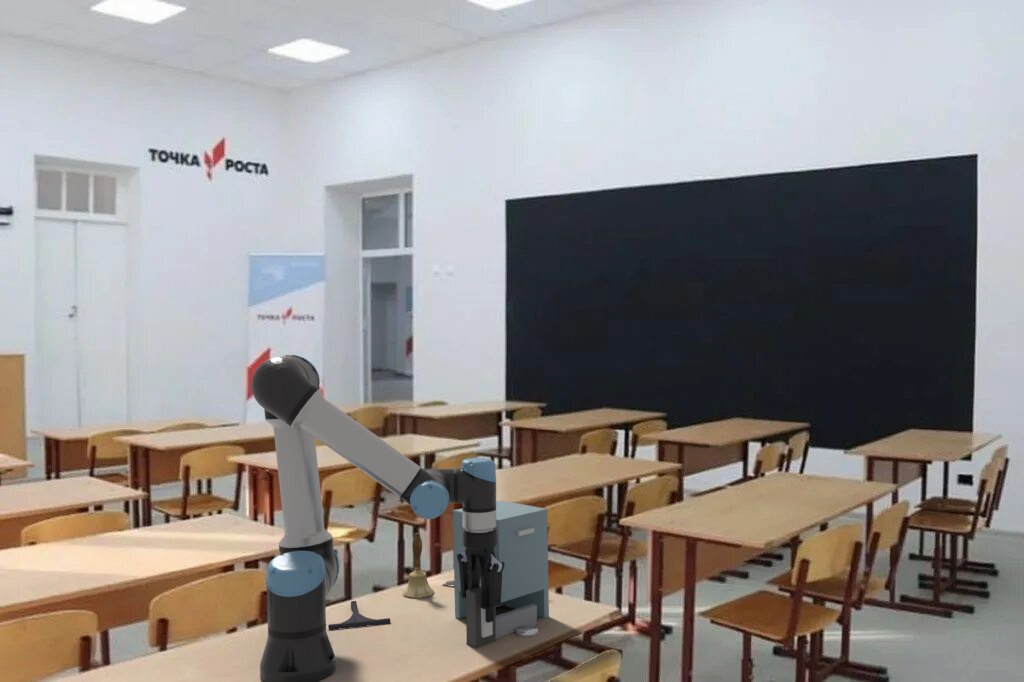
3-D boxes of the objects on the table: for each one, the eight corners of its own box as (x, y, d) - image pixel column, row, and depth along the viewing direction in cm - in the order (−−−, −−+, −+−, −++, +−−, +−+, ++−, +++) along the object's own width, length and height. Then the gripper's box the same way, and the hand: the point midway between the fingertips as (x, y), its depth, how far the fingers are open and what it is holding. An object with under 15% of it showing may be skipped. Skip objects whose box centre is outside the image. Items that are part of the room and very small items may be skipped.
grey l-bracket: (475, 647, 197) (475, 593, 197) (466, 644, 199) (466, 590, 199) (539, 625, 211) (538, 574, 211) (530, 622, 213) (529, 571, 213)
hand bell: (398, 591, 240) (397, 532, 239) (428, 587, 243) (427, 528, 243) (407, 600, 232) (406, 538, 232) (438, 595, 235) (437, 535, 235)
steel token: (527, 639, 202) (527, 634, 202) (511, 634, 206) (511, 629, 206) (542, 633, 206) (542, 628, 206) (526, 628, 209) (526, 623, 209)
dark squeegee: (382, 607, 229) (381, 596, 229) (390, 626, 214) (390, 614, 214) (324, 614, 225) (323, 603, 225) (329, 633, 210) (328, 621, 210)
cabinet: (503, 634, 205) (501, 520, 205) (455, 617, 218) (453, 510, 217) (552, 617, 216) (550, 509, 216) (503, 602, 229) (501, 500, 228)
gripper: (517, 531, 196) (518, 638, 197) (468, 520, 208) (469, 621, 209) (492, 537, 191) (493, 647, 192) (443, 525, 203) (444, 629, 203)
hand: (481, 633), depth 200 cm, fingers closed on grey l-bracket, 3 cm apart
